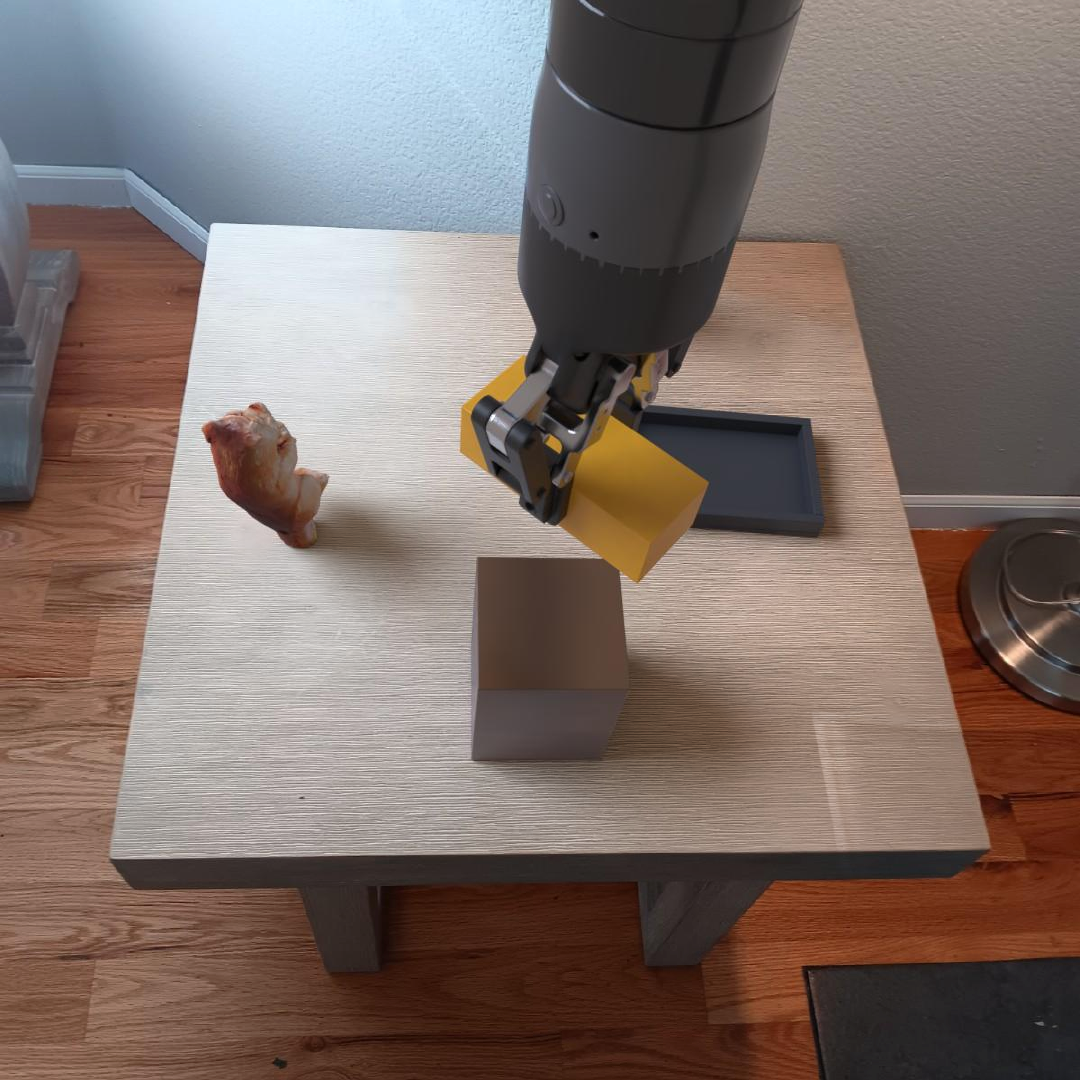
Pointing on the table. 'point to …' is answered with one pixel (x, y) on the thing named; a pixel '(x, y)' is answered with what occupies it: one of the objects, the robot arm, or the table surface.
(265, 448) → the figurine
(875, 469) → the table surface
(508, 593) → the stand
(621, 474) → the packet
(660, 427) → the tray
